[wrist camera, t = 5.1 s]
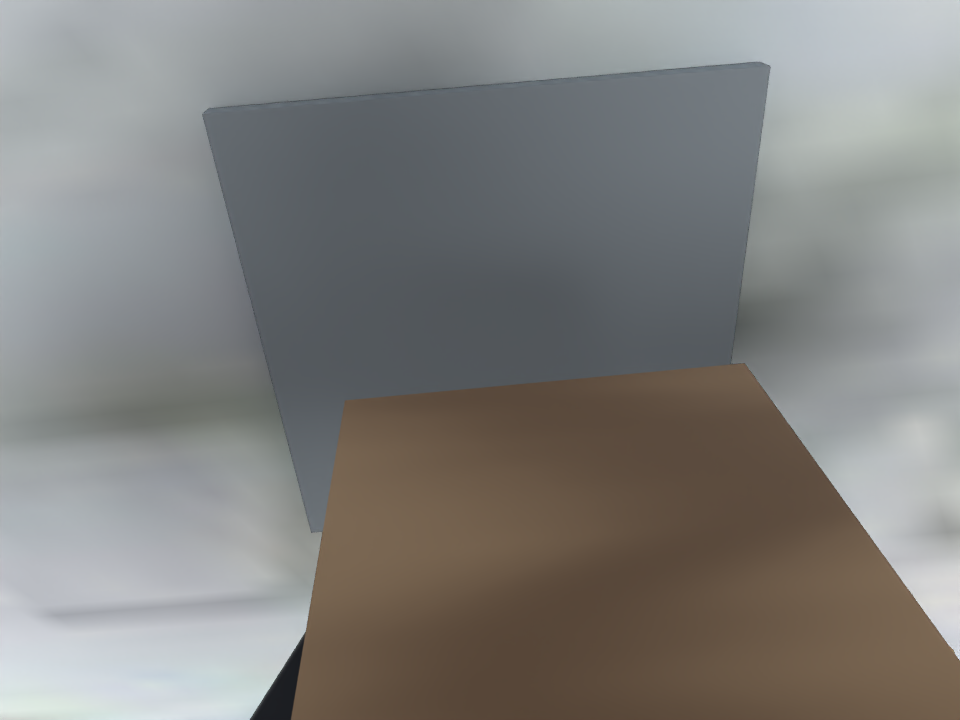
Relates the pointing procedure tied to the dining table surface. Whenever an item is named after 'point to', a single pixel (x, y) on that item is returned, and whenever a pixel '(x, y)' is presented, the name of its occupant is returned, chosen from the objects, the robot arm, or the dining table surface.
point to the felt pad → (488, 236)
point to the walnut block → (604, 564)
